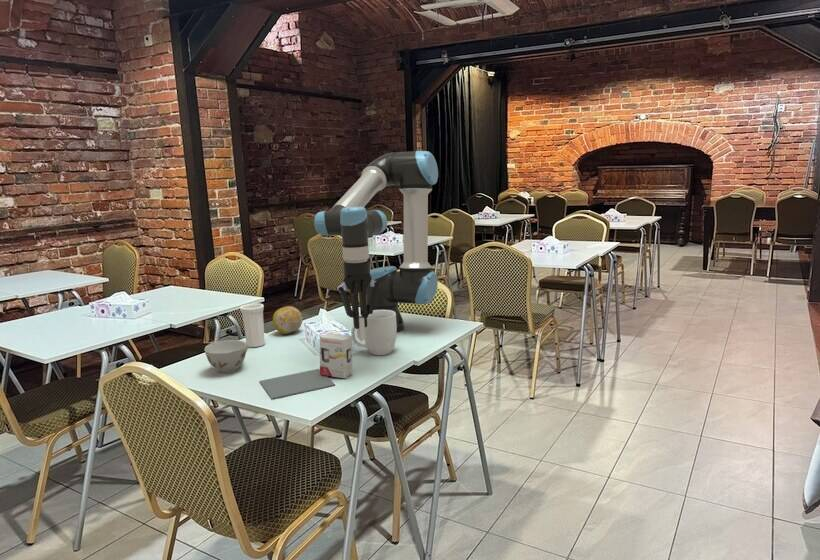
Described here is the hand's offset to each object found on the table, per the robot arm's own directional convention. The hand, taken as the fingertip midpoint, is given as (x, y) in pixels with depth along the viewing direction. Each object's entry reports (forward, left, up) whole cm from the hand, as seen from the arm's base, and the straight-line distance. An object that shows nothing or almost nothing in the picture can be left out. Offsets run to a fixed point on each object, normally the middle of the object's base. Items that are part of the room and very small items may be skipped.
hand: (361, 338), depth 173 cm
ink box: (+9, 0, -10) cm, 13 cm away
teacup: (+35, -25, -10) cm, 44 cm away
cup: (+23, -45, -10) cm, 51 cm away
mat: (+21, 0, -10) cm, 23 cm away
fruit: (+9, -53, -10) cm, 54 cm away
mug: (-10, -13, -10) cm, 19 cm away
